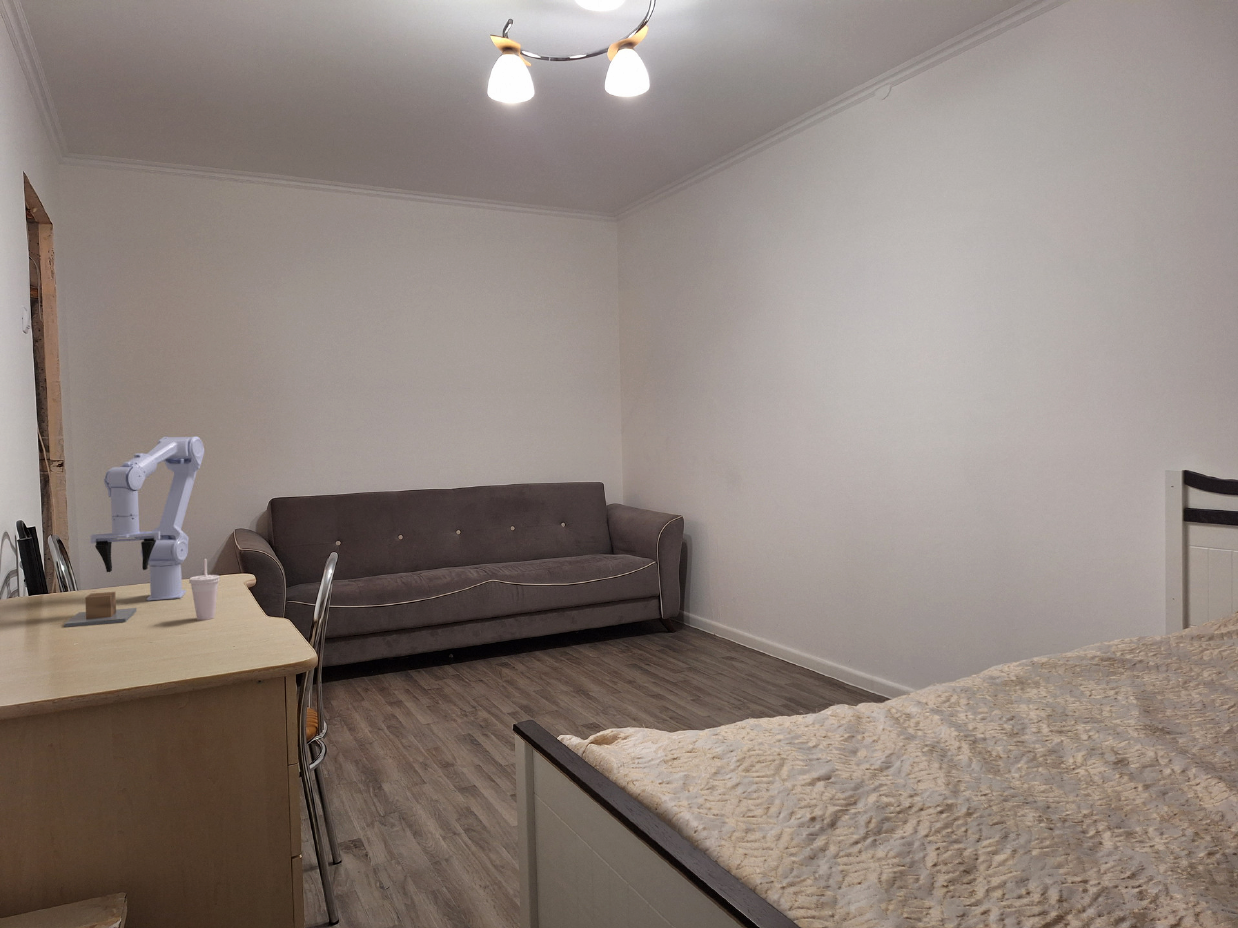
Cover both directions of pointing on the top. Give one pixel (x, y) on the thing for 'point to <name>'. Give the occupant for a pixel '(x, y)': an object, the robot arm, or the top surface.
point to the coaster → (118, 617)
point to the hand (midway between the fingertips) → (127, 570)
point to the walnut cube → (100, 605)
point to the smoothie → (204, 594)
